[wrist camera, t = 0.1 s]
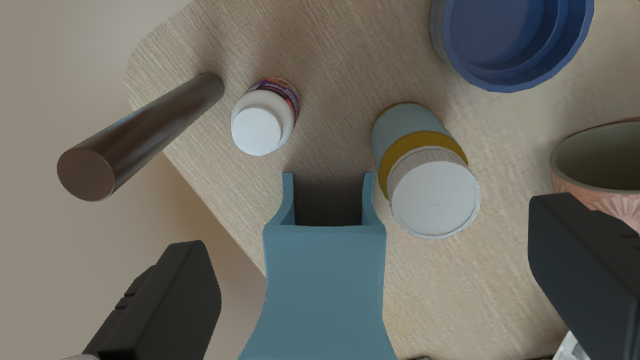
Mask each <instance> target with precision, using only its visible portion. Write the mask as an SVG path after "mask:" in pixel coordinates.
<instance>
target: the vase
mask: <svg viewBox="0 0 640 360" xmlns="http://www.w3.org/2000/svg"><path fill="white" fill-rule="evenodd" d="M282 180H283V201H282V204H281V206H280V209H279V210H278V212H277V213H276V215H275V216H274V217H273V218H272V219H271V220H270V221H269V222H268V223H267V224H266V225H265V227H264V230H263V233H262V235H263V246H264V257H265V266H266V276H267V291H266V299H265V302H264V306H263V310H262V312H261V315H260V318H259V320H258V322H257V324H256V327H255V329H254V331H253V333H252V335H251V337H250V338H249V340H248V342H247V344H246V346H245V348H244V349H243V351H242V352H241V354H240V356H239V357H238V359H237V360H398V359H397V357H396V355H395V352H394V350H393V348H392V345H391V343H390V340H389V338H388V336H387V333H386V330H385V326H384V323H383V320H382V306H383V285H384V268H385V253H386V235H387V234H386V229H385V226H384V225H383V223H382V222H381V221H380V219H379V218H378V217H377V215H376V213H375V211H374V209H373V194H374V173H365V176H364V183H363V193H362V225H359V226H341V227H311V226H296V225H295V212H294V191H293V175H292V173H282Z"/></svg>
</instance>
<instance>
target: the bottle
mask: <svg viewBox="0 0 640 360" xmlns="http://www.w3.org/2000/svg"><path fill="white" fill-rule="evenodd" d="M371 144H372V151H373V155H374V160H375V165H376V170H377V174H378V179H379V184H380V187H381V190H382V192H383V193H384V195H385V197H386V199H387V200H388V201H389V203H390V207H391V211H392V214H393V217H394V218H395V220H396V221H397V223H398V224H399V225H400V227H401V228H402V229H404V230H405V231H406V232H407V233H409V234H411V235H413V236H415V237H418V238H422V239H428V240H437V239H443V238H447V237H450V236H453V235H455V234H457V233H459V232H460V231H462V230H463V229H465V228H466V227H467V226H468V225H469V224H470V223H471V222H472V221H473V219H474V218H475V216H476V214H477V212H478V210H479V207H480V203H481V191H480V187H479V183H478V180H477V179H476V177H475V175H474V174H473V173H472V171H471V170H470V169H469V167H468V161H467V158H466V156H465V154H464V152H463V150H462V148H461V147H460V146H459V144H458V143H457V142H456V141H455V139H454V138H453V137H452V136H451V134H450V133H449V132H448V131H447V129H446V128H445V127H444V125H443V124H442V123H441V122H440V120H439V119H438V118H437V117H436V116H435V115H434V114H433V112H432V111H430V110H429V109H428V108H426V107H424V106H422V105H420V104H416V103H401V104H397V105H394V106H392V107H390V108H388V109H386V110H385V111H384V112H383V113H382V114H381V115H380V116H379V117H378V118H377V120H376V122H375V123H374V125H373V128H372V133H371Z"/></svg>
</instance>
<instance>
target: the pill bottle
mask: <svg viewBox="0 0 640 360" xmlns="http://www.w3.org/2000/svg"><path fill="white" fill-rule="evenodd" d="M299 111H300V99H299V96H298V94H297V92H296V90H295V89H294V87H293V86H292V85H291V84H289V83H288V82H287V81H285V80H283V79H280V78H276V77H268V78H264V79H261V80H259V81H257V82H256V83H255V84H254V85H252V86H251V87H250V88H249V89H248V90H247V91H246V92H245V93H244V94H243V95H242V96H241V97H240V98H239V99H238V101H237V102H236V103H235V105H234V107H233V109H232V112H231V133H232V137H233V140H234V142H235V144H236V145H237V146H238V147H239V148H240V149H241V150H242V151H244V152H245V153H247V154H250V155H254V156H262V155H266V154H268V153H270V152H272V151H274V150H277V149H278V148H280V147H282V146H283V145H284V144H285V143H286V142H287V141H288V139H289V138H290V136H291V134H292V131H293V128H294V125H295V123H296V120H297V118H298V115H299Z"/></svg>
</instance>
